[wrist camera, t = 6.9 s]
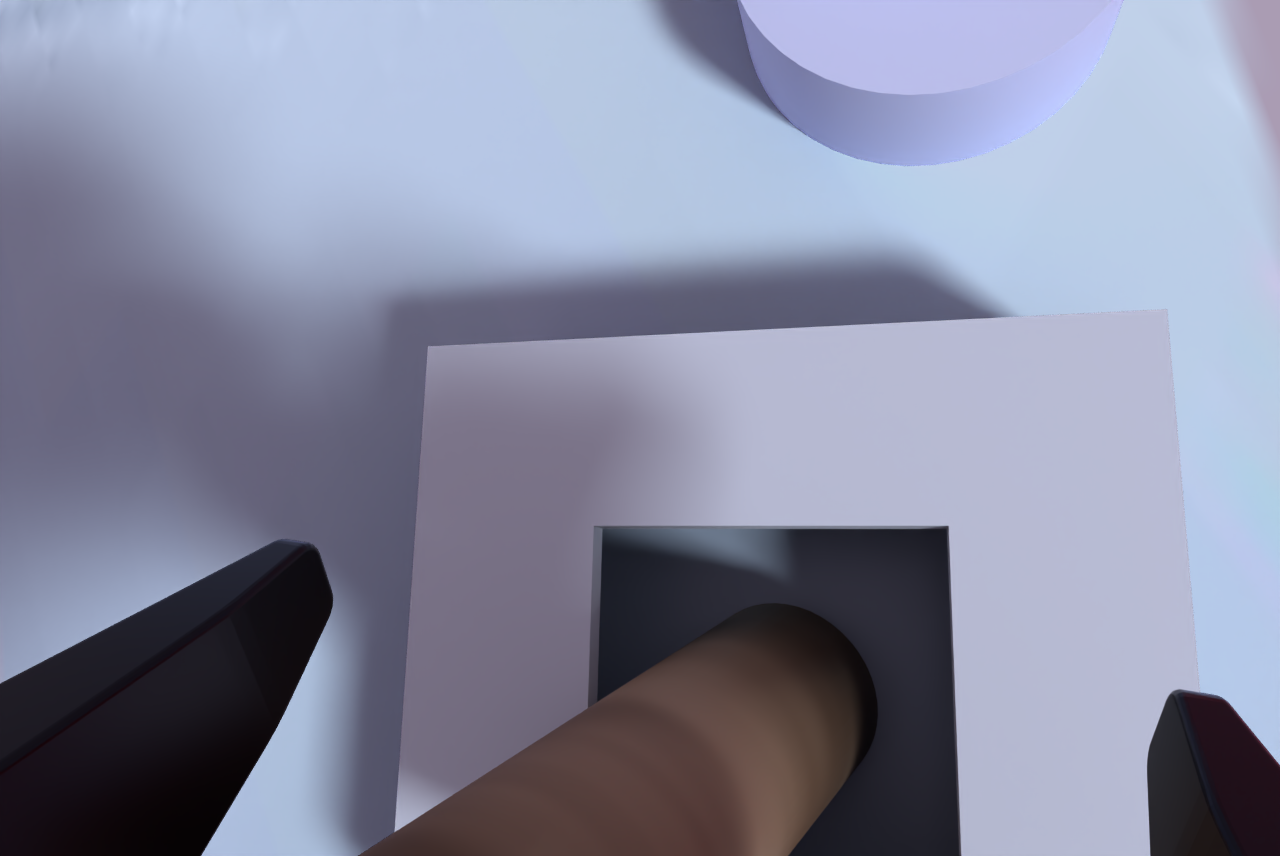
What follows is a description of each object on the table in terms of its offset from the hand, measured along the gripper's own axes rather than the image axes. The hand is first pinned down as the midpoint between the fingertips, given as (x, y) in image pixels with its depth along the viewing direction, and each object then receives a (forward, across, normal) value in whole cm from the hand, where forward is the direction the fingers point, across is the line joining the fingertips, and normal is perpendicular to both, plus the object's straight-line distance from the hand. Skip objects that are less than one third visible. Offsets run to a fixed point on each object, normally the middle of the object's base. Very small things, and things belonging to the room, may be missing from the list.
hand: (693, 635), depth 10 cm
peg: (+7, 0, +9) cm, 11 cm away
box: (+8, 0, +10) cm, 13 cm away
